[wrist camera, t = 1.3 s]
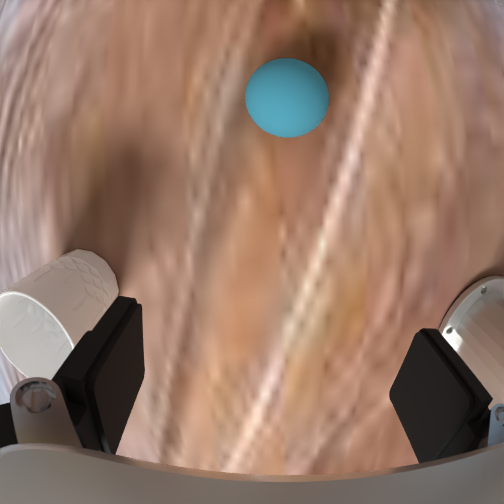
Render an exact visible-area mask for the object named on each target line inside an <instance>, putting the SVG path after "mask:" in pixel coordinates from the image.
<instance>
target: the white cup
mask: <svg viewBox="0 0 504 504" xmlns="http://www.w3.org/2000/svg"><path fill="white" fill-rule="evenodd" d="M118 293H119V289H118V285H117V281H116V276H115V274H114V272H113V271H112V270H111V268H110V267H109V265H108V264H107V262H106V261H105V260H104V259H102V258H101V257H99V256H98V255H96V254H95V253H93V252H92V251H86V250H80V249H76V250H74V251H71V252H69V253H66V254H64V255H62V256H61V257H59V258H58V259H54V260H52V261H51V262H49V263H47V264H45V265H44V266H42V267H40V268H38V269H37V270H35V271H34V272H32V273H31V274H29V275H27V276H26V277H24V278H23V279H21V280H20V281H18V282H17V283H15V284H14V285H12V286H11V287H9V288H8V289H6V290H5V291H3V292H2V293H0V348H1V350H2V352H3V353H4V355H5V356H6V357H7V359H8V360H9V361H10V362H11V363H12V364H13V365H14V366H15V367H16V368H17V369H18V370H19V371H20V372H21V373H22V374H24V375H25V376H26V377H28V378H31V377H42V378H47V379H49V380H51V379H52V378H53V377H54V375H55V374H56V372H57V371H58V369H59V368H60V367H61V365H62V364H63V362H64V361H65V360H66V358H67V357H68V355H69V354H70V353H71V351H72V350H73V349H74V347H75V346H76V344H77V343H78V342H79V340H80V339H81V338H82V336H83V335H84V334H85V333H86V332H87V331H89V330H90V331H92V329H93V328H94V327H95V325H96V324H97V323H98V321H99V320H100V319H101V317H102V316H103V315H104V313H105V312H106V311H107V309H108V308H109V307H110V305H111V304H112V303H113V301H114V300H115V299H116V298H117V297H118Z"/></svg>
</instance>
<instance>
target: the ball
mask: <svg viewBox="0 0 504 504" xmlns="http://www.w3.org/2000/svg"><path fill="white" fill-rule="evenodd" d="M245 102H246V107H247V110H248V112H249V114H250V116H251V118H252V119H253V121H254V122H255V123H256V124H257V125H258V126H259V127H260V128H262V129H263V130H264V131H266V132H268V133H270V134H272V135H275V136H279V137H298V136H301V135H304V134H306V133H308V132H310V131H312V130H313V129H314V128H316V127H317V126H318V125H319V124H320V123H321V121H322V120H323V118H324V117H325V115H326V112H327V109H328V105H329V93H328V88H327V85H326V83H325V81H324V79H323V77H322V76H321V75H320V73H319V72H318V71H317V70H316V69H315V68H313V67H312V66H310V65H309V64H307V63H305V62H303V61H300V60H297V59H292V58H280V59H275V60H272V61H269V62H267V63H265V64H263V65H262V66H261V67H259V68H258V69H257V70H256V71H255V72H254V73H253V75H252V76H251V78H250V80H249V82H248V84H247V87H246V92H245Z"/></svg>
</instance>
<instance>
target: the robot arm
mask: <svg viewBox="0 0 504 504" xmlns="http://www.w3.org/2000/svg"><path fill="white" fill-rule="evenodd" d="M144 373H145V367H144V349H143V324H142V305H141V304H138V303H137V301H136V299H135V298H130V297H124V296H118V297H117V298H116V299H115V300H114V301H113V303H112V304H111V305H110V307H109V308H108V309H107V311H106V312H105V313H104V315H103V316H102V317H101V319H100V320H99V321H98V323H97V324H96V325H95V327H94V328H93V329H92V331H90V330H89V331H87V332H86V333H85V334H84V335H83V336H82V338H81V339H80V340H79V342H78V343H77V344H76V346H75V347H74V349H73V350H72V351H71V353H70V354H69V355H68V357H67V358H66V360H65V361H64V362H63V364H62V365H61V367H60V368H59V369H58V371H57V372H56V374H55V375H54V377H53V378H52V379H51V380H49V379H47V378H42V377H31V378H28V379H24V380H22V381H21V382H19V383H17V385H16V386H15V387H14V388H13V389H12V391H11V394H10V403H6V404H2V405H0V504H504V277H503V276H497V275H495V276H489V277H486V278H483V279H481V280H479V281H478V282H476V283H474V284H473V285H471V286H470V287H469V288H468V289H467V290H465V291H464V292H463V293H462V294H461V295H460V297H459V298H458V299H457V300H456V301H455V302H454V304H453V305H452V306H451V308H450V309H449V311H448V312H447V314H446V316H445V317H444V319H443V321H442V324H441V326H440V328H439V331H438V330H437V329H429V328H423V329H421V330H420V331H419V332H417V333H416V334H415V336H414V338H413V341H412V343H411V345H410V348H409V350H408V352H407V355H406V357H405V359H404V361H403V364H402V366H401V368H400V370H399V372H398V374H397V376H396V379H395V381H394V383H393V385H392V387H391V389H390V393H389V396H390V400H391V402H392V404H393V406H394V408H395V410H396V413H397V415H398V417H399V419H400V421H401V423H402V426H403V428H404V430H405V432H406V434H407V437H408V439H409V441H410V443H411V446H412V448H413V450H414V452H415V455H416V457H417V459H418V462H419V464H414V465H408V466H402V467H396V468H389V469H382V470H374V471H365V472H355V473H344V474H328V475H252V474H237V473H225V472H215V471H206V470H198V469H191V468H184V467H177V466H171V465H165V464H159V463H153V462H148V461H143V460H138V459H134V458H129V457H124V456H119V455H115V454H116V451H117V448H118V446H119V443H120V440H121V437H122V434H123V432H124V429H125V426H126V424H127V421H128V418H129V416H130V413H131V410H132V408H133V405H134V402H135V400H136V397H137V395H138V392H139V389H140V387H141V384H142V382H143V379H144ZM488 407H489V408H490V409H491V410H489V409H488Z"/></svg>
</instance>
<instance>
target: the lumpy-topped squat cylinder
mask: <svg viewBox="0 0 504 504" xmlns="http://www.w3.org/2000/svg"><path fill="white" fill-rule="evenodd" d="M494 1H495V2H496V3H497V4H498V5H499V6H500V7H501V8H502V9H503V10H504V0H494Z"/></svg>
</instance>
